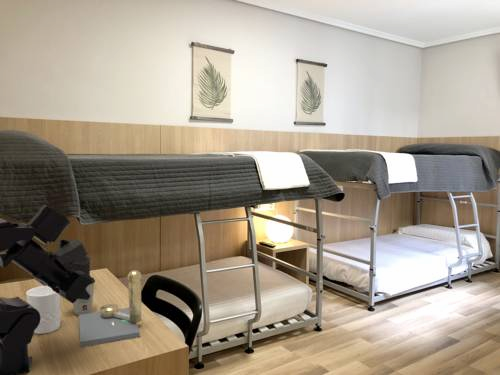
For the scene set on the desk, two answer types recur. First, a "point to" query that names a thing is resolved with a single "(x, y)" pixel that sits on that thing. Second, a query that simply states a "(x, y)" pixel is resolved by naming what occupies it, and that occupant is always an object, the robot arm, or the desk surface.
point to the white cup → (45, 308)
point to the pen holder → (82, 265)
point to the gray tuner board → (105, 328)
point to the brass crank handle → (134, 301)
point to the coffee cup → (85, 301)
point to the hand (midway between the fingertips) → (88, 297)
